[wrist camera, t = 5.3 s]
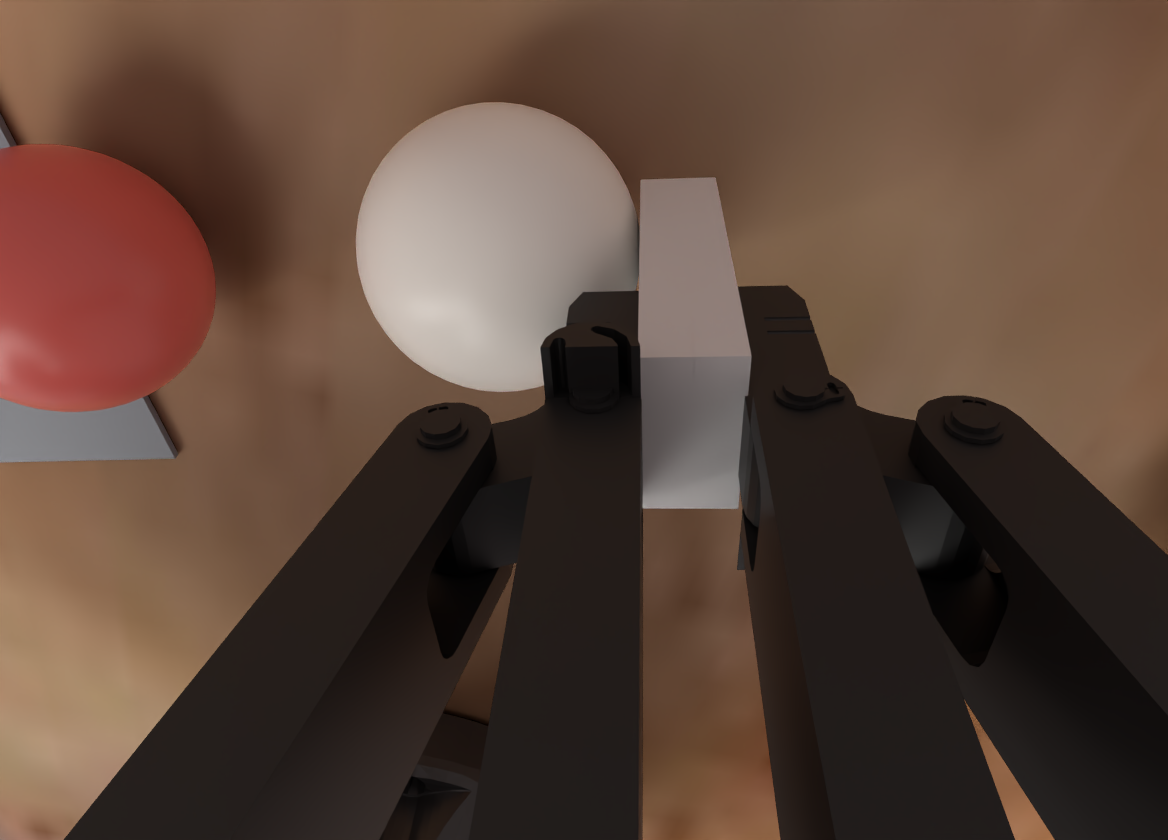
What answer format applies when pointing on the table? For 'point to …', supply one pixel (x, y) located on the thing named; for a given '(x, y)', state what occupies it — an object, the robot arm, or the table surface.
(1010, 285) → the table surface
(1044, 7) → the table surface
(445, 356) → the cue ball
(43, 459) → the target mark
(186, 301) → the red ball
